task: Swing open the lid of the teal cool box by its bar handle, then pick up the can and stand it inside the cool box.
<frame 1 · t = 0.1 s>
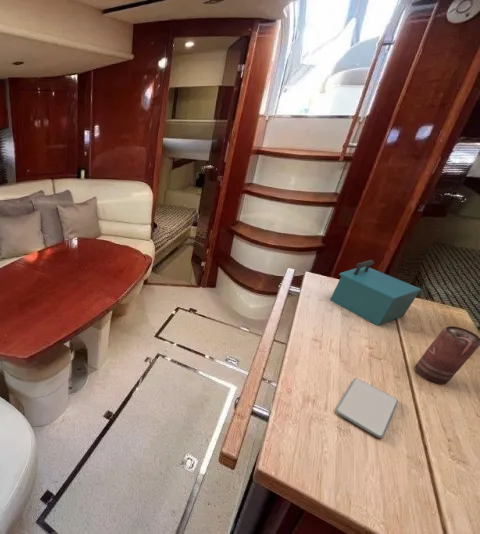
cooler: (365, 307, 101), on the table
cooler lid: (381, 276, 96), point 12 cm above the table, hinge at 0.0°
can: (430, 375, 78), on the table
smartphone: (365, 407, 70), on the table
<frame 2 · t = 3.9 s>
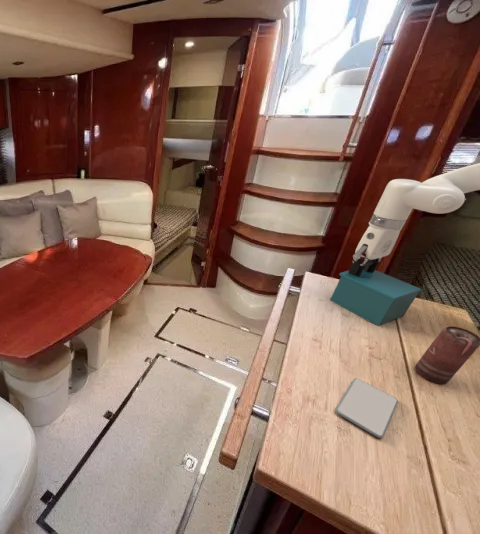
hand: (360, 272, 101), 11 cm above the table, tool pointing down, fingers closed on cooler lid, 6 cm apart
cooler lid: (381, 276, 96), point 12 cm above the table, hinge at 0.0°, touching gripper
everything else where it was.
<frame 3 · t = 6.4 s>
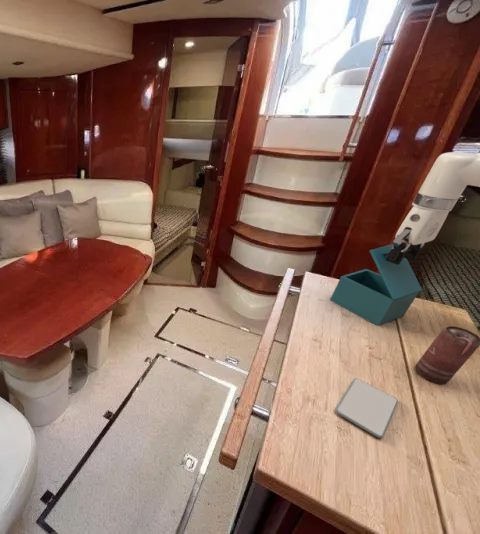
hand: (399, 259, 90), 19 cm above the table, tool pointing down, fingers closed on cooler lid, 6 cm apart
cooler lid: (404, 268, 90), point 17 cm above the table, hinge at 46.6°, touching gripper
everything else where it was.
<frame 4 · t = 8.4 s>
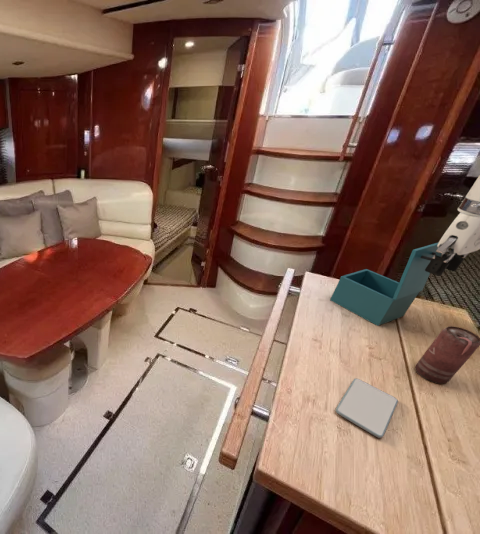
hand: (440, 270, 83), 20 cm above the table, tool pointing down, fingers closed on cooler lid, 6 cm apart
cooler lid: (427, 273, 85), point 18 cm above the table, hinge at 83.7°, touching gripper
everything else where it was.
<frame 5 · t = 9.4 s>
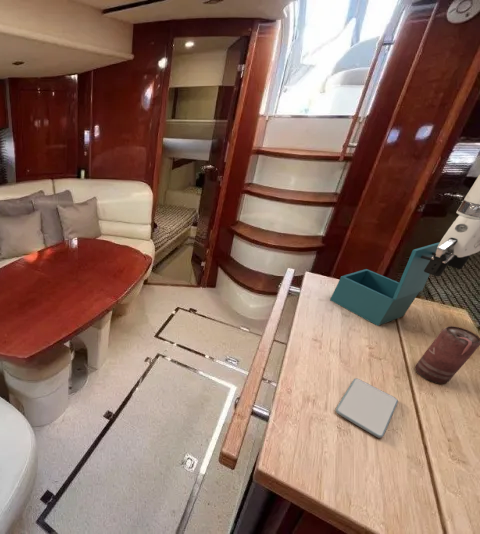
hand: (442, 270, 82), 20 cm above the table, tool pointing down, fingers open, 9 cm apart
cooler lid: (427, 274, 85), point 18 cm above the table, hinge at 83.8°
everything else where it was.
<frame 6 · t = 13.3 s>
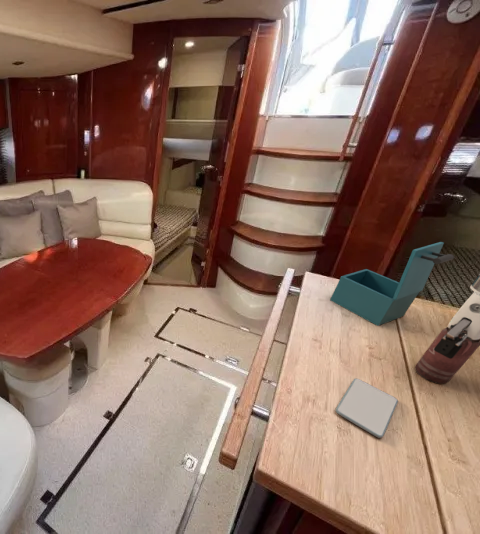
hand: (451, 349, 73), 9 cm above the table, tool pointing down, fingers closed on can, 6 cm apart
can: (430, 375, 78), on the table, touching gripper
everything else where it was.
when the fingers open (10 cm above the table, at t = 24.7 s): can stays where it is, resting on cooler.
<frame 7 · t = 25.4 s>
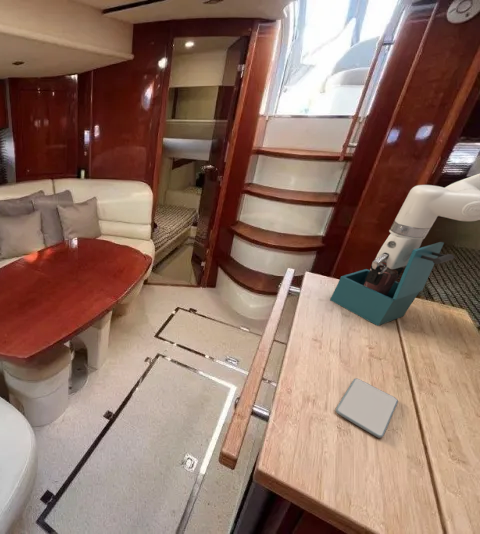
hand: (381, 279, 96), 11 cm above the table, tool pointing down, fingers open, 9 cm apart
can: (366, 306, 101), point 1 cm above the table, touching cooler
everything else where it was.
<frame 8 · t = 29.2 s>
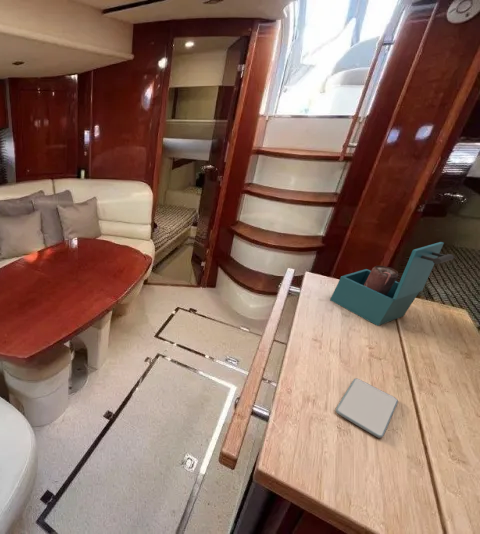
nothing on the table moved.
at the end: cooler lid at +84° (first picture: +0°); can inside the target area in the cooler (0.0 cm from its centre), point 0.6 cm above the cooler's base; can tilted 0° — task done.
